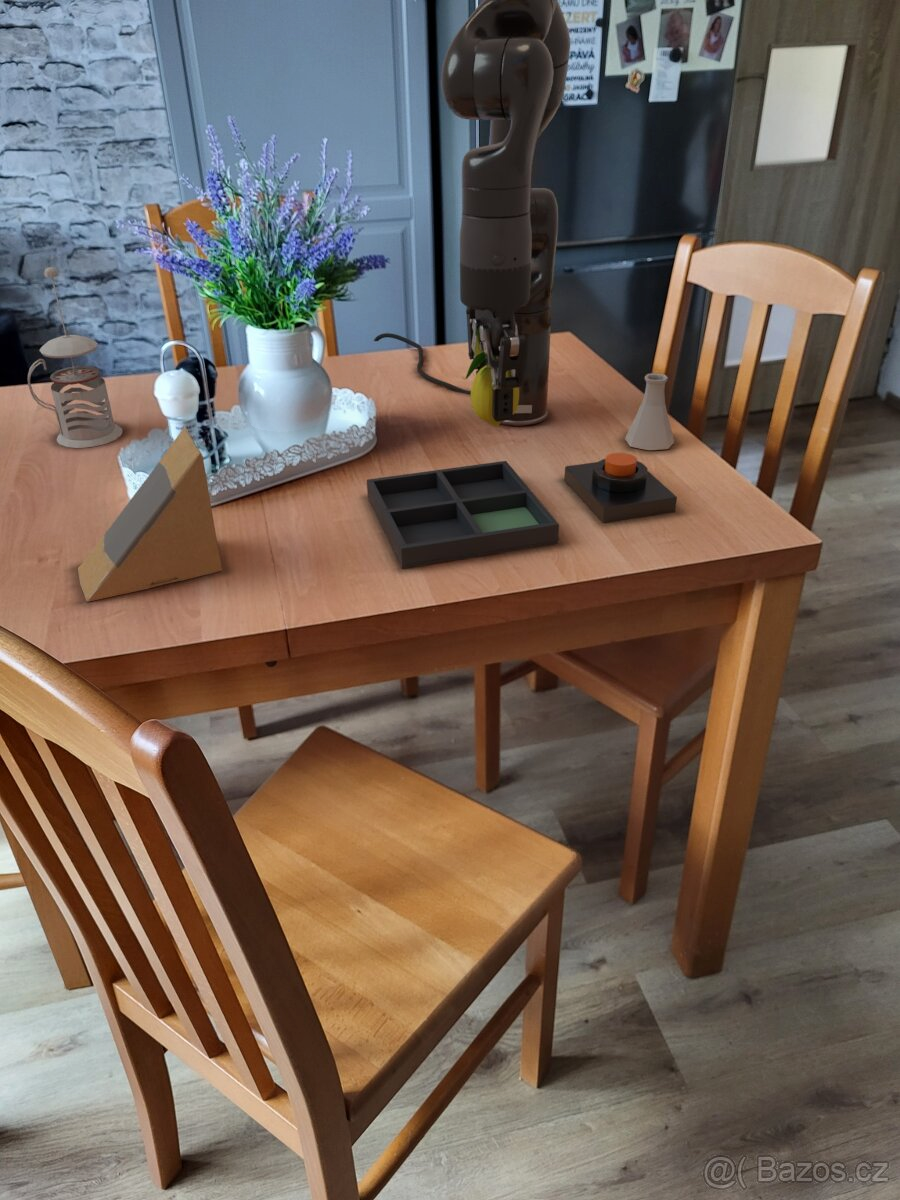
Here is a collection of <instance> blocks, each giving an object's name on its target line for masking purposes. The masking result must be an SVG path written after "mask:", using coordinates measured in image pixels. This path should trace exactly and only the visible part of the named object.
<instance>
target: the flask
mask: <svg viewBox="0 0 900 1200" xmlns="http://www.w3.org/2000/svg"><path fill="white" fill-rule="evenodd" d="M644 380H645V383H646V384H645V390H644V394H643V397H642V401H641V403H640V406H639V408H638V410H637V412H636V414H635V417H634V419H633V421H632V423H631V425H630V427H629V429H628V431H627V433H626V435H625V437H624V440H625V441H626V443H627V445H629V447H631V448H636V449H641V450H646V451H657V450H658V451H659V450H661V451H662V450H669V449H670V448H671V447H672V445H674V443H675V438H674V435H673V431H672V427H671V422H670V420H669V419H670V418H669V415H668V410H667V405H666V395H665V388H666V383H667V382H668V380H669V377H668V376H667V375H666V374H664V373H663V374H662V373H658V372H657V373H647V374H645V376H644Z"/></svg>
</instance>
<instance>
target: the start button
mask: <svg viewBox="0 0 900 1200" xmlns="http://www.w3.org/2000/svg"><path fill="white" fill-rule="evenodd" d="M604 459H605V472H606V473H608V474H611V475H614V476H630V475H633V474H635V473H636V464H637V461H638V459H637V457H636V456H634V455H633V454H631V453H626V452H613V453H609V454H608V455H606V456H605V458H604Z"/></svg>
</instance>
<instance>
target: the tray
mask: <svg viewBox="0 0 900 1200" xmlns="http://www.w3.org/2000/svg"><path fill="white" fill-rule="evenodd" d="M366 490H367V499H368V502H369V503H370V506H371V507H372V509H373V511H374V514H375V516H376V518H377V520H378V522H379V524H380V527H381V528H382V530H383V533H384V535H385V536H386V539H387V541H388V543H389V544H390V546H391V549H392V552H393V553H394V555H395V557H396V559H397V561H398V563H399V565H400V567H401V569H402V570H403V569H409V568H415V567H416V568H417V567H420V566H421V567H422V566H428V565H434V564H440V563H441V564H442V563H447V562H453V561H459V560H466V559H471V558H478V557H484V556H491V555H497V554H503V553H510V552H514V551H515V552H516V551H521V550H526V549H527V550H528V549H533V548H539V547H540V548H541V547H546V546H547V547H548V546H553V545H558V544H559V532H560V523H559V522H558V521H557V520H556V519H555V518H554V516H553V515H552V514H551V513H550V512H549V510H547V508H546V507H545V506H544V505H543V503H542V502H541V501H540V500H539V499H538V497H537V496H536V495H535V494H534V492H533V491H532V490H531V489H530V487H529V486H528V485H527V484H526V482H524V480H523V479H522V478H521V476H519V474H518V473H517V472H516V471H515V469H514V468H513V466H512V465H510V463H509V462H508V461H507V460H501V461H494V462H488V463H479V464H473V465H465V466H457V467H451V468H442V469H435V470H434V469H433V470H427V471H420V472H413V473H412V472H411V473H405V474H398V475H391V476H384V477H375V478H369V479H366Z"/></svg>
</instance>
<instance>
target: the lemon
mask: <svg viewBox="0 0 900 1200" xmlns="http://www.w3.org/2000/svg"><path fill="white" fill-rule="evenodd" d="M498 357H499V356H498ZM494 359H495V360H496V357H494ZM484 360H485V355H484V352H482V353H480V354H478V355H477V356H475V358H474V359H472V361H471V363H470V365H469V368H468V369H467V373H466V375H465V380H467V379H468V378H469V377H470V376H471V375H472V373H473V372H474V371H476V370H477V369H476V368H477V366H478V365H479V364H481V363H482V362H483V361H484ZM475 369H476V370H475ZM506 377H508V371H507V372H506ZM492 388H493V387H492V378H491V370H490V369H489V368H487V367H486V366H484V367H483V368H481V369H480V370H479V372H478V373H477V375H476V374H475V377H474V379H473V382H472V385H471V389H470V391H471V395H470V404H471V408H472V410H473V412H474V414H475V416H477V418H478V419H480V420H482V421H483V422H486V423H489V424H490V425H491V426H493V427H499V426H500V423H501V422H502V421H498V422H497V421H495V420H494V419H493V417H492ZM518 402H519V388H513V414H514V413H515V411H516V409H517V406H518Z"/></svg>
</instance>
